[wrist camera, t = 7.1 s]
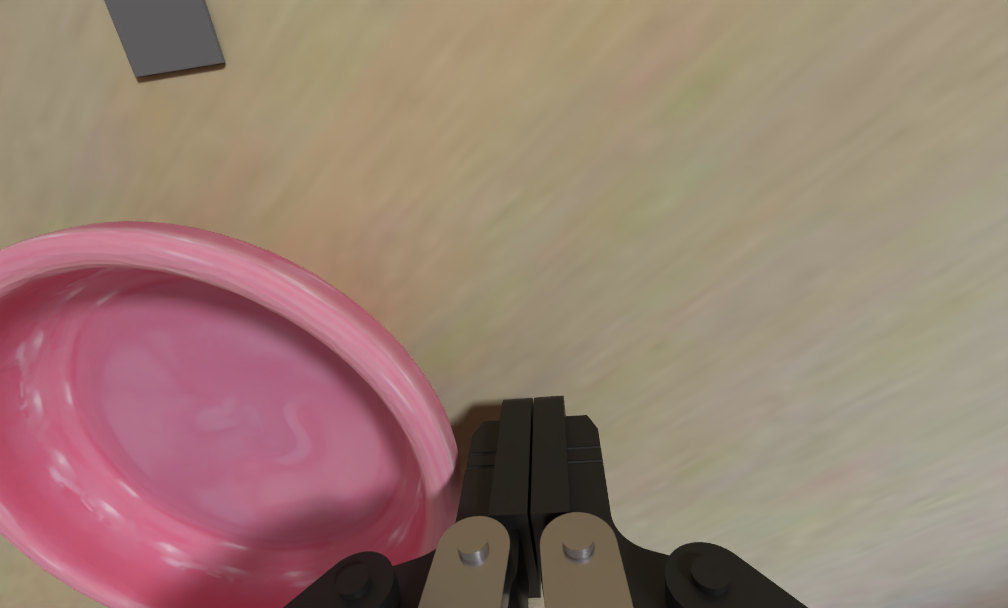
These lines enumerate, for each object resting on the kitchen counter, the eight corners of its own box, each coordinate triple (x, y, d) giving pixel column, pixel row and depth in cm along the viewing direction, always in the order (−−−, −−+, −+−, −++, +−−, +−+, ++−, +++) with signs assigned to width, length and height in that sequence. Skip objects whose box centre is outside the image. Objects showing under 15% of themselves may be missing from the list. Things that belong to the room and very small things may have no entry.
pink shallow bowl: (385, 603, 17) (355, 707, 15) (30, 471, 16) (-83, 558, 13) (553, 332, 12) (556, 407, 10) (58, 98, 11) (-114, 105, 8)
